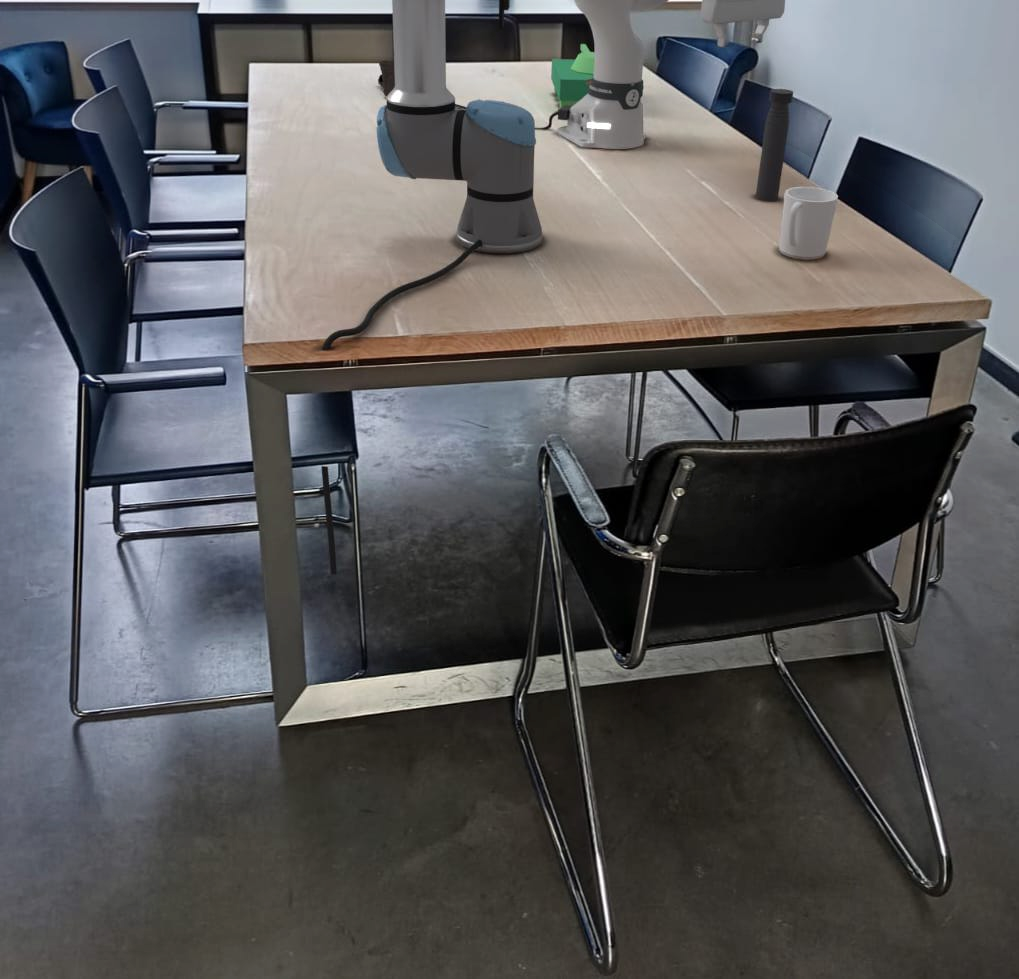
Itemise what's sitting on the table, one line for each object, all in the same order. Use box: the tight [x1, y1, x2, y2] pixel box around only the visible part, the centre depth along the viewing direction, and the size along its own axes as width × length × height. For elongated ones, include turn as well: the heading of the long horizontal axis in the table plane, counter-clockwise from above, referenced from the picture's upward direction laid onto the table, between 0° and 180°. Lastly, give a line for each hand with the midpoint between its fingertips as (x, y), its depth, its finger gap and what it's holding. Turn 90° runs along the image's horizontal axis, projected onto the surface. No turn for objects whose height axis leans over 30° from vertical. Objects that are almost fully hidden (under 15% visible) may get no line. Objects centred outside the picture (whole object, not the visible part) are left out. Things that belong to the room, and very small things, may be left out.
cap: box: [768, 88, 794, 104], centre depth 211 cm, size 4×4×2 cm
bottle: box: [754, 102, 790, 202], centre depth 216 cm, size 4×4×20 cm
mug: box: [778, 186, 839, 261], centre depth 190 cm, size 11×9×10 cm
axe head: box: [377, 59, 395, 97], centre depth 299 cm, size 18×8×15 cm
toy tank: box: [550, 43, 594, 109], centre depth 292 cm, size 18×12×35 cm
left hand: (468, 26), depth 224 cm, fingers open, 13 cm apart
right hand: (739, 44), depth 225 cm, fingers open, 8 cm apart
